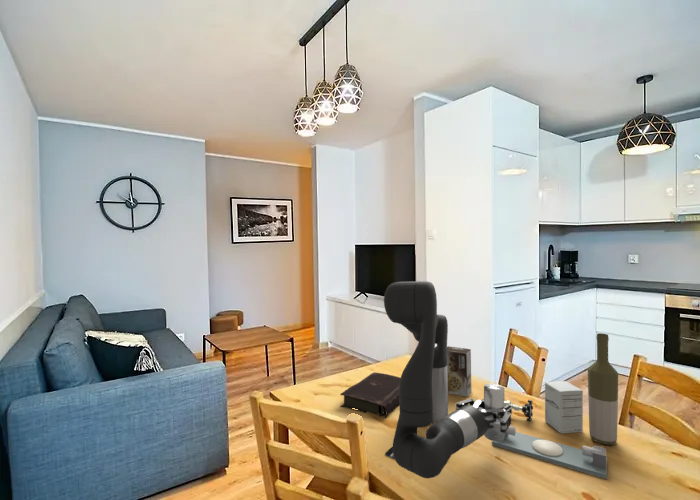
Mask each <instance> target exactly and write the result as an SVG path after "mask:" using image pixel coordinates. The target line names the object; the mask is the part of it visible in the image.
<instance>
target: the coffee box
mask: <svg viewBox="0 0 700 500" xmlns="http://www.w3.org/2000/svg"><path fill="white" fill-rule="evenodd" d="M471 351H472V349H471V348H465V347H455V346H448V345H447V373H448V394H449V395H450V394H451V395H456V396H460V397H461V396H462V397H466V398H468V397H469V396H470V395H471V393H472V390H473V389H472V358H471V357H472V352H471Z"/></svg>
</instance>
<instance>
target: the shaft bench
mask: <svg viewBox="0 0 700 500" xmlns="http://www.w3.org/2000/svg"><path fill="white" fill-rule="evenodd" d="M491 445H492V446H494V447H498V448H501V449H505V450H508V451H511V452H515V453H518V454H522V455H525V456H527V457H528V456H529V457H531V458H534V459H538V460H542V461H545V462H548V463H551V464H554V465H557V466H561V467H564V468H568V469H571V470H573V471H574V470H575V471H578V472H582V473H585V474H588V475H590V476H591V475H592V476H595V477H598V478H601V479H605V480H607V479H608V456H607V448H605V447H603V446H597V445H592V446H593V447H591V446H587V445H582V449H580V448H578V447H577V448H576V447H575V446H570V445H566V444H563V443H558V442H555V441H552V440H547V439H544V438H541V437H537V436H532V435H530V434H525V433H522V432H518V431H517V430H516V427H514V426H512V425H510V426H509V428H508V429H507V431H506V432H505V438H504V440H503V441H492V440H491Z"/></svg>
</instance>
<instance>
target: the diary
mask: <svg viewBox="0 0 700 500" xmlns="http://www.w3.org/2000/svg"><path fill="white" fill-rule="evenodd" d="M400 378H401V376H396V375H392V374H388V373H381V372H372V373H370V374H369V375H367V376H366V377H364V378H363V379H362V380H360V381H359V382H357V383H356V384H355V383H354V385H352V386H350V387H349V388H348V387H347V389H346V390H344V391H343V392H341V393H339V394H340V395H341V396H343V404H341V405H340V408H343V409H344V408H345V409H347V410H352V411H356V412H360V413H364V414H366V413H370V414H373V415H377V416H378V415H379V416H378V417H381V416H383V415H384V414H385V415H384V419H386V418H388V416H390V414H391V413H392V412H393V411H394V410H395V409H396V408H397V407H398V406H399V383H400ZM352 408H355V409H358V410H354V409H352Z"/></svg>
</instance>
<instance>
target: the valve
mask: <svg viewBox="0 0 700 500" xmlns="http://www.w3.org/2000/svg"><path fill="white" fill-rule="evenodd" d="M506 405H511V408H512V410H513V411H517V412H520V411H521V412H522V413H523V415H524V416H525V417H526V421H527V422H533V421H532V420H533V416H534V415H533V414H534V413H533V410H534V406H533V400H532V399H527V403H525V404H524V405H522V406H520V405H519V404H513V403H512V401H510V400H504V406H506Z"/></svg>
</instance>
